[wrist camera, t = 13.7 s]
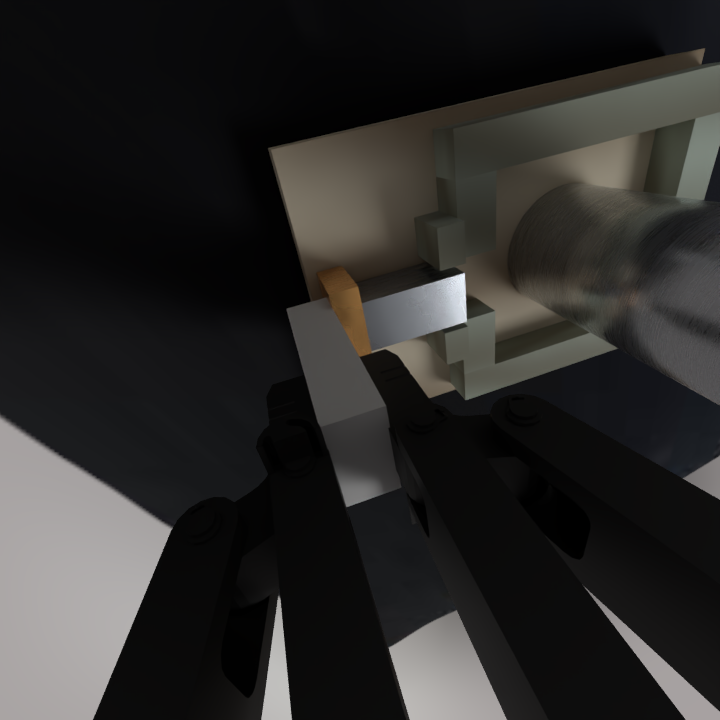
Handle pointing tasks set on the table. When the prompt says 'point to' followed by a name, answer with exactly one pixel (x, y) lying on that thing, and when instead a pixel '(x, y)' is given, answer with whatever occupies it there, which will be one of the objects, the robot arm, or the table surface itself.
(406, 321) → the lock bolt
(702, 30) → the table surface
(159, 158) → the table surface
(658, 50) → the table surface
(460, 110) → the dock mount
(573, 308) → the metal bottle
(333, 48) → the table surface
